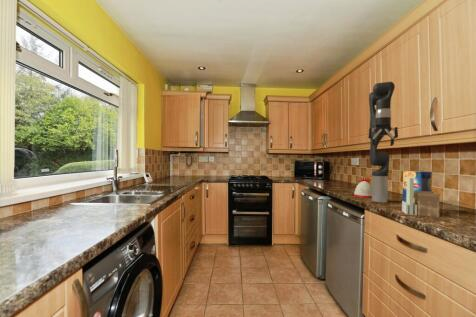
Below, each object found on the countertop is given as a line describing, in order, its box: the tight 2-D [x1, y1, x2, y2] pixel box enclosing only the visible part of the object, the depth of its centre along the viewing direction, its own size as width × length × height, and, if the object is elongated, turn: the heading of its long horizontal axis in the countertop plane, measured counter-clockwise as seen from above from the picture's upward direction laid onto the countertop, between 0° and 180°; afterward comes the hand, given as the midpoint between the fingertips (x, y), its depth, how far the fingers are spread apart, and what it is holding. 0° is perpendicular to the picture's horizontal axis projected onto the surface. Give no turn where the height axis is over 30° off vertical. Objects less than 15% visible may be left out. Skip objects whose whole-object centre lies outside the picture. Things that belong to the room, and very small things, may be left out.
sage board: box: [406, 177, 414, 216], centre depth 120 cm, size 6×2×18 cm, turn 156°
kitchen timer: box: [353, 176, 372, 199], centre depth 181 cm, size 14×14×15 cm
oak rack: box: [413, 191, 440, 218], centre depth 119 cm, size 9×8×12 cm
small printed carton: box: [401, 200, 418, 216], centre depth 122 cm, size 10×4×6 cm, turn 155°
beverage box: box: [402, 170, 433, 202], centre depth 130 cm, size 7×11×22 cm, turn 11°
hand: (382, 145), depth 135 cm, fingers open, 8 cm apart
